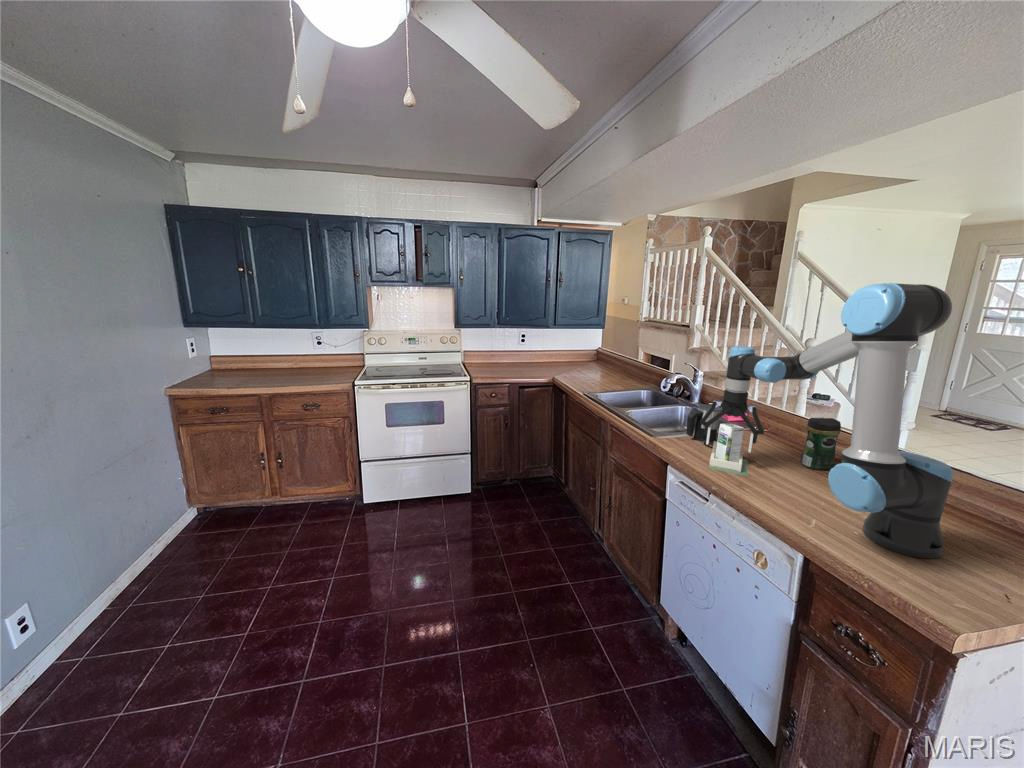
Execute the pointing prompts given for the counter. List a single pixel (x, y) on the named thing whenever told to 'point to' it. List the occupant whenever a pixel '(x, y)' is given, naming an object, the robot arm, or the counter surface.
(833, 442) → the coffee jar
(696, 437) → the milk frother
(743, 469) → the board
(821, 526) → the counter surface
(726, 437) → the syrup box
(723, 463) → the cream hollow box
